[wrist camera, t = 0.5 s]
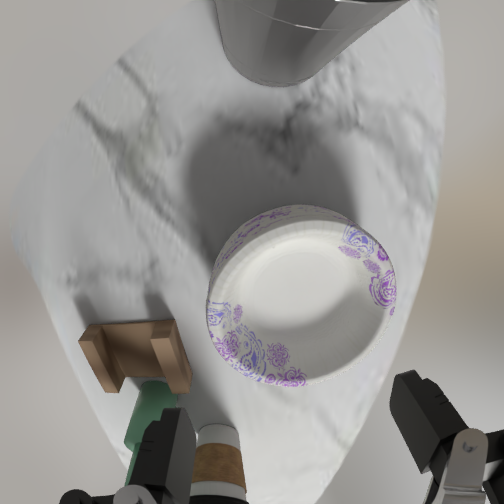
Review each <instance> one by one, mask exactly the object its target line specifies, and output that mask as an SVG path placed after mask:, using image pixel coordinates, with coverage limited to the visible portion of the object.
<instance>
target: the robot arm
mask: <svg viewBox="0 0 504 504" xmlns="http://www.w3.org/2000/svg"><path fill="white" fill-rule="evenodd" d="M408 1H409V0H215V3H216V9H217V14H218V19H219V25H220V31H221V36H222V42H223V47H224V51H225V54H226V56H227V59H228V60H229V62H230V63H231V65H232V66H233V67H234V68H235V69H236V70H237V71H238V72H239V73H240V74H241V75H243V76H244V77H246V78H247V79H249V80H251V81H253V82H256V83H258V84H261V85H266V86H271V87H287V86H293V85H297V84H299V83H302V82H305V81H306V80H308V79H309V78H311V77H313V76H314V75H315V74H316V73H317V72H318V71H319V70H321V69H322V68H323V67H324V66H326V65H327V64H328V63H329V62H330V61H331V60H333V59H334V58H335V57H336V56H337V55H339V54H340V53H341V52H342V51H343V50H345V49H346V48H347V47H348V46H350V45H351V44H352V43H353V42H355V41H356V40H357V39H358V38H360V37H361V36H362V35H363V34H365V33H366V32H367V31H369V30H370V29H371V28H372V27H374V26H375V25H376V24H378V23H379V22H380V21H382V20H383V19H384V18H386V17H387V16H389V15H390V14H391V13H392V12H394V11H395V10H396V9H398V8H399V7H401V6H402V5H404V4H405V3H406V2H408ZM390 411H391V414H392V416H393V418H394V420H395V422H396V424H397V426H398V428H399V430H400V432H401V434H402V436H403V438H404V440H405V442H406V444H407V446H408V447H409V450H410V452H411V454H412V456H413V458H414V460H415V462H416V464H417V466H418V468H419V471H420V473H421V474H423V473H425V472H428V471H430V470H431V472H432V474H433V476H432V478H431V481H430V484H429V487H428V490H427V493H426V497H425V499H424V502H423V504H485V499H486V494H487V496H488V499H489V501H490V503H491V504H504V430H500V431H496V432H491V433H486V434H484V433H483V432H482V431H480V430H478V429H474V428H469V427H468V426H467V425H466V424H465V422H464V421H463V419H462V418H461V416H460V415H459V414H458V412H457V411H456V409H455V408H454V407H453V405H452V404H451V402H449V400H448V398H447V397H446V396H445V395H444V393H443V391H442V390H441V389H440V387H439V386H438V385H437V384H436V383H434V382H433V381H431V380H429V379H428V378H426V379H423V380H422V379H421V377H420V376H419V375H418V373H417V372H416V371H415V370H410V371H407V372H404V373H401V374H398V375H396V376H395V378H394V383H393V388H392V393H391V397H390ZM196 443H197V442H196V434H195V431H194V428H193V426H192V424H191V421H190V419H189V417H188V414H187V412H186V410H185V408H164V409H163V411H162V415H161V418H160V421H155V420H153V421H152V422H151V423H150V424H149V425H148V427H147V428H146V429H145V431H144V434H143V437H142V443H141V444H140V447H139V451H138V454H137V457H136V460H135V464H134V467H133V471H132V474H131V478H130V481H129V483H128V485H127V486H124V487H123V488H121V489H119V490H118V491H117V492H116V494H114V495H109V496H96V497H91V496H90V495H88V494H87V493H86V492H84V491H82V490H78V489H74V490H70V491H68V492H66V493H65V494H64V495H63V496H62V498H61V500H60V503H59V504H189V499H190V491H191V483H192V475H193V467H194V460H195V452H196ZM482 486H483V488H484V490H485V492H486V493H485V492H484V491H482Z"/></svg>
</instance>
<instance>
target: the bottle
mask: <svg viewBox="0 0 504 504" xmlns="http://www.w3.org/2000/svg"><path fill="white" fill-rule="evenodd" d="M177 399H178V395H177V394H172V392H171V390H170V387H169V385H168V384H166V383H163V382H160V381H148V382H145V383H144V384H143V385H142V386H141V389H140V392H139V395H138V398H137V401H136V404H135V407H134V410H133V413H132V417H131V420H130V423H129V426H128V429H127V433H126V436H125V439H124V444H125V445H126V447H127V448H128V449H129V450H131V451H132V452H133V454H132V458H131V462H130V466H129V470H128V474H127V478H126V482H125V486H127V485H128V483H129V481H130V478H131V474H132V471H133V467H134V464H135V460H136V457H137V454H138V451H139V447H140V444H141V443H142V437H143V434H144V431H145V429H146V428H147V427H148V425H149V424H150V423H151V422H152V421H153V420H155V421H160V418H161V415H162V411H163V409H164V408H176V404H177Z"/></svg>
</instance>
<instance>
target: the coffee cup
mask: <svg viewBox="0 0 504 504" xmlns="http://www.w3.org/2000/svg"><path fill="white" fill-rule="evenodd" d="M246 493H247V490H246V483H245V477H244V470H243V463H242V456H241V450H240V441H239V434H238V432H237V431H236V430H235V429H234V428H232V427H230V426H227V425H222V424H211V425H207V426H204V427H203V428H202V429H201V430H200V431H199V435H198V440H197V445H196V452H195V460H194V467H193V475H192V483H191V491H190V499H189V504H249V503H248V502H247V501H246V495H245V494H246Z"/></svg>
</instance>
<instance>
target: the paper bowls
mask: <svg viewBox="0 0 504 504" xmlns="http://www.w3.org/2000/svg"><path fill="white" fill-rule="evenodd" d="M395 302H396V279H395V273H394V270H393V266H392V263H391V261H390V259H389V257H388V255H387V253H386V252H385V250H384V249H383V247H382V246H381V244H379V243H378V241H377V240H376V239H375V238H374V237H373V236H371V235H370V234H369V233H368V232H367V231H365V230H364V229H362V228H361V227H360V226H358V225H357V224H355V223H354V222H352V221H351V220H349V219H348V218H346V217H345V216H343V215H341V214H339V213H337V212H335V211H332V210H329V209H327V208H324V207H320V206H316V205H307V204H305V205H304V204H302V205H301V204H296V205H289V206H282V207H278V208H275V209H272V210H269V211H266V212H264V213H261V214H259V215H257V216H255V217H253V218H252V219H250V220H248V221H247V222H245V223H244V224H242V225H241V226H240V227H239V228H238V229H237V230H236V231H235V232H234V233H233V234H232V235H231V236H230V238H229V239H228V240H227V241H226V243H225V244H224V246H223V247H222V249H221V251H220V253H219V255H218V257H217V259H216V261H215V264H214V267H213V270H212V274H211V278H210V282H209V288H208V296H207V300H206V319H207V326H208V330H209V333H210V336H211V339H212V341H213V344H214V345H215V347H216V349H217V350H218V352H219V353H220V355H221V356H222V357H223V358H224V359H225V360H226V362H227V363H228V364H230V365H231V366H232V367H233V368H234V369H236V370H237V371H239V372H240V373H242V374H243V375H245V376H247V377H249V378H251V379H253V380H256V381H258V382H262V383H265V384H270V385H276V386H285V387H296V386H305V385H311V384H316V383H319V382H322V381H325V380H328V379H331V378H333V377H336V376H338V375H340V374H342V373H344V372H346V371H347V370H349V369H350V368H352V367H353V366H355V365H356V364H358V363H359V362H360V361H361V360H363V359H364V358H365V357H366V356H367V355H368V354H369V353H370V352H371V351H372V350H373V349H374V347H375V346H376V345H377V344H378V342H379V341H380V339H381V338H382V336H383V335H384V333H385V331H386V329H387V328H388V325H389V323H390V321H391V318H392V316H393V312H394V308H395Z"/></svg>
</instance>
